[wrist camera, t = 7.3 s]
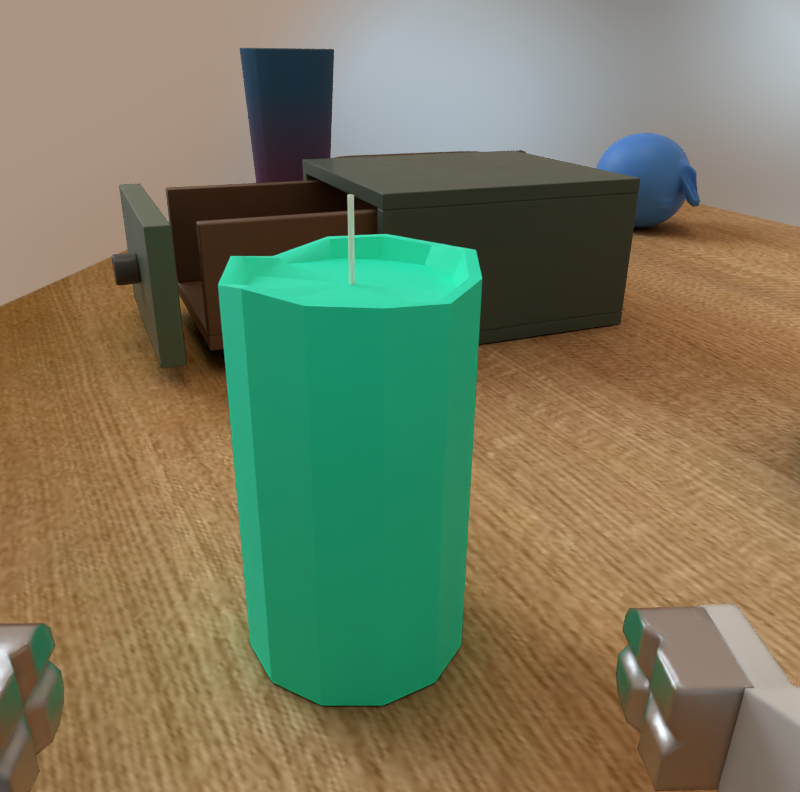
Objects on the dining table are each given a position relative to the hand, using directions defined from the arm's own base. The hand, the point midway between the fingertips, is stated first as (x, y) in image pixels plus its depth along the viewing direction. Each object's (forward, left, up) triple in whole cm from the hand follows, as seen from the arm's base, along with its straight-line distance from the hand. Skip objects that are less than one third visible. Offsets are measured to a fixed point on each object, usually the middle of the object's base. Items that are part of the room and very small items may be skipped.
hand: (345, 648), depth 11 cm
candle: (-7, +6, -7) cm, 11 cm away
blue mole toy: (-31, +63, -7) cm, 70 cm away
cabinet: (-25, +30, -7) cm, 39 cm away
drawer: (-29, +18, -6) cm, 35 cm away
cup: (-44, +31, -7) cm, 54 cm away
